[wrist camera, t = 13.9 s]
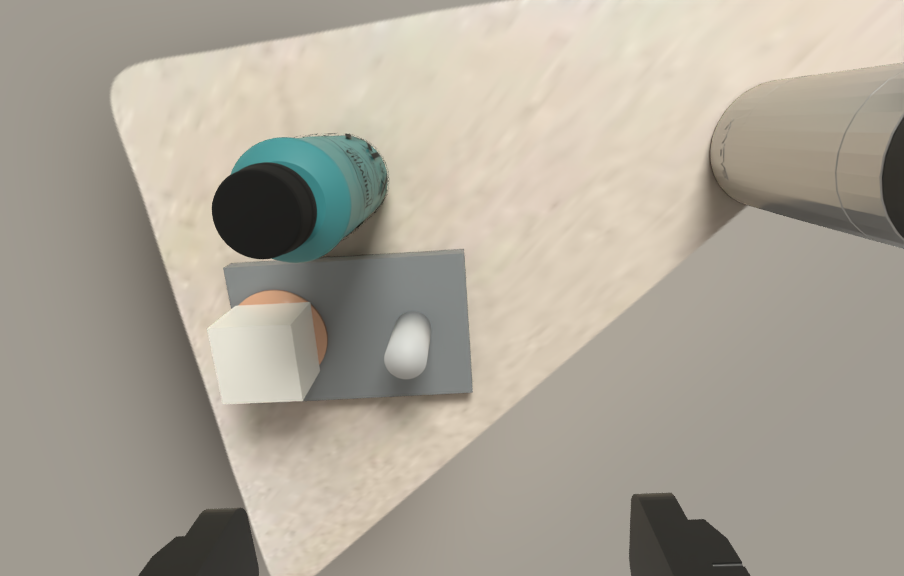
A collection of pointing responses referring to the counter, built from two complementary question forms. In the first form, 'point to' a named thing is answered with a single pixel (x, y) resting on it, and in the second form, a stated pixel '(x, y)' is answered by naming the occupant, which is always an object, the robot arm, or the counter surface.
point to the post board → (377, 320)
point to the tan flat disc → (290, 297)
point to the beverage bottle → (298, 196)
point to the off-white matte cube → (265, 353)
